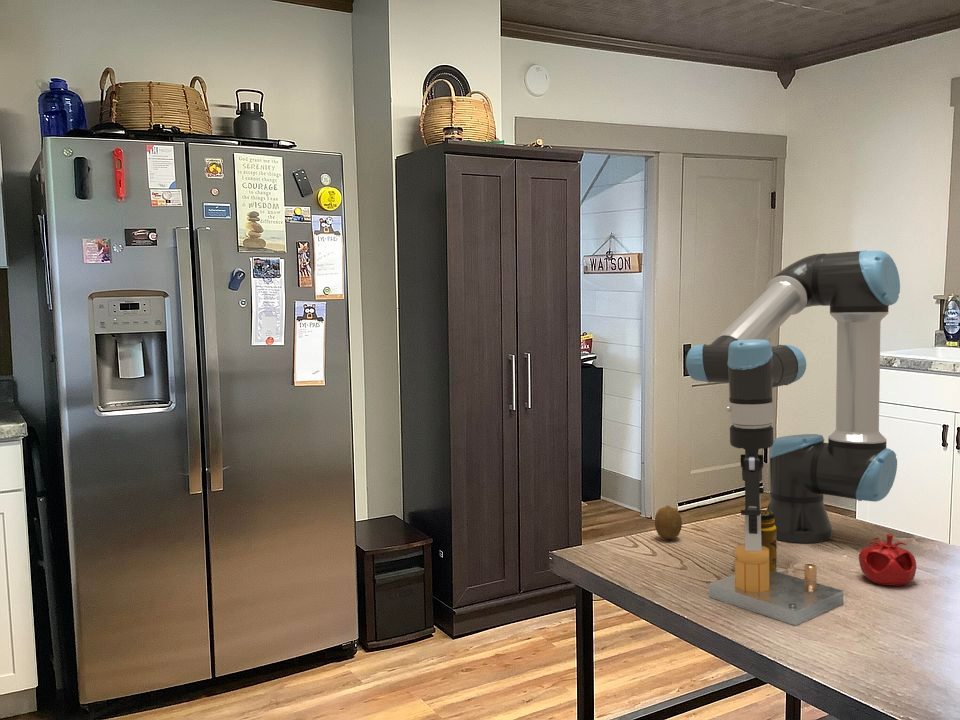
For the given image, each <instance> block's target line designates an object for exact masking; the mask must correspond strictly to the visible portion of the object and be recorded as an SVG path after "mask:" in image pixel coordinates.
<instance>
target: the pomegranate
mask: <svg viewBox="0 0 960 720" xmlns="http://www.w3.org/2000/svg"><path fill="white" fill-rule="evenodd" d="M893 537H894V534H892V533H887V534H886V542H884V541H883V540H882V539H881V538H880V537H876V538H874V539H872V540H873V541H870V542H867V545H868V546H866V547H864V548H863V549H862V550H860V552H859V554H858V563H859V566H860V570H861V572H862V574H863V575H864V576H865V577H866V578H867V579H868V580H869V581H871V582H872V583H874V584H877V585H880V586H895V587H899V586H901V587H902V586H905V585H907V584H910V582H912V581H913V580H914V578H915V576H916V571H917V562H916V558H915V556H914V554H913V553H912V552H910V550H908V549H905V548H902V547H899V545H903V546H904V545H908V543H906V542H902V541H898V542H896V543H893V542H892V541H893V540H894V538H893ZM877 540H878V541H879V542H877ZM870 544H871V545H870Z"/></svg>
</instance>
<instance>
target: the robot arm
mask: <svg viewBox="0 0 960 720" xmlns="http://www.w3.org/2000/svg"><path fill="white" fill-rule="evenodd" d="M764 290H765V291H764V292H763V293H762V294H761V295H760V296H758V298H757V299H756V300H755V301H754V302H753V303H751V304H750V306H748V307H747V308H746V309H745V310H744V312H742V313H741V314H740V315H739V316H738V317H737V318H736V319H735V320H734V321H732V323H731V324H730V325H729V326H727V327H726V329H725V330H724V331H722V332H721V334H719V336H717V338H715V339H714V341H712V343H709V344H706V343H703V344H696V345H693V346H692V347H691V348H690V349H689V350H688V352H687V354H686V359H685V367H686V369H687V374H688V375H689V378H691V379H692V380H694V381H696V382H705V383H708V384H711V383H718V384H719V383H720V384H728V390H729V391H728V392H729V393H728V394H729V397H728V399H729V406H726V407H725V412H727V413H729V422H730V423H731V424H732V425H730V427H729V444H730V446H732V447H733V448H736V449H743V450H744V454H740V468H741V478H742V480H743V481H744V505H745V506H744V509H740V515H741V516H744V540H745V541H744V544H745V550H749V551H762V549H761V510H762V509H761V508H762V507H761V506H762V505H761V494H764V492H765V491H764V487H762V486H761V481H762V480H763V468H764V455H763V454H759V453H760V451H759V450H760V449H764V450H765V449H769V455H768V459H769V502H768V505H767V508H766V510H768V511H771V512H773V513H774V520H775V523H774V525H775V526H776V531H777V533H776V534H777V535H776V541H777V540H779V541H783V542H789V543H800V544H801V543H802V544H804V543H805V544H810V543H811V544H812V543H821V542H825V541H828V540H830V539H831V538H832V537H833V529H832V524H831V521H830V518H829V515H828V512H827V509H826V507H825V504H824V502H825V501H824V495H826V496H833V497H838V498H846V499H853V500H857V501H858V502H863V501H866V502H875V503H876V502H880V501H882V500H883V499H885V498H886V497H887V496H888V494H889V493H890V491H891V489H892V488H893V486H894V482H895V479H896V477H897V476H896V475H897V471H898V470H897V469H898V458H897V453H896V452H895V451H894V450H893V449H891V448H888V447H887V438H886V437H885V436H884V435H883V434H882V433H881V432H880V390H881V389H880V386H881V384H880V378H881V377H880V376H881V374H880V373H881V370H880V369H881V324H882V323H881V322H882V320H883V319H885V318H886V316H887V315H888V314H889V306H892V305H894V304H896V303H897V302H898V301H899V298H900V292H901V281H900V275H899V270H898V267H897V264H896V262H895V261H894V259H893V257H892V256H891V255H890V254H889V253H887V252H886V251H883V250H866V249H865V250H859V251H847V252H846V251H845V252H844V251H843V252H832V253H817V254H816V253H815V254H812V255H808V256H805V257H803V258H801V259H798V260H796V261H794V262H792V263H791V264H789V265H788V266H786V267H785V268H783V269H782V270H780V271H779V272H778V273H777V274H776V275H774V276H773V277H772V278H771V279H770V280H769V281H768V282H767V283H766V286H765V289H764ZM816 306H821V307H823V306H825V307H826V306H828V307H829V315H831V317H832V318H833V319H834V320H835V321H836V385H835V387H836V388H835V392H836V393H835V394H836V395H835V396H836V398H835V399H836V400H835V401H836V403H835V430H834V431H833V432H832V433H831V434H829V436H827V437H828V438H827V439H828V442H825V438H824V436H823V435H822V434H816V433H805V434H804V433H803V434H792V435H791V434H790V435H787V436H779V437H776V438H774V427H773V426H772V425H771V424H772V423H774V401H773V388H777V387H783V386H789V385H791V384H792V383H795V382H797V381H799V380H801V378H802V377H803V376H804V375H805V372H806V370H807V361H806V360H807V359H806V357H805V354H804V353H803V351H802V350H801V349H800V348H798V347H797V346H794V345H790V344H778V345H775V346H774V345H773V346H772V344H771V342H770V340H768V339H769V338H770V337H771V336H773V335H774V334H775V332H777V330H778V329H780V327H781V326H782V325H783V324H784V323H785V322H786V321H787V320H788V319H789V318H790V317H791V316H792V315H797V314H800V313H801V312H802V311H803V310H804V309H805V308H806V309H807V308H808V307H816Z"/></svg>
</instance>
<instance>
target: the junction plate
mask: <svg viewBox="0 0 960 720" xmlns="http://www.w3.org/2000/svg"><path fill="white" fill-rule="evenodd" d="M769 588H770V589H769V590H766V591H762V592H751V591H744V590H741V589H739V588H736V587H735V574H732V575H729V576H727V577H726V576H725V577H724V578H721V579H717V580H716V581H712V582H710V583H708V597H709V598H711V599H714V600H717V601H720V602H723V603H726V604H729V605H732V606H734V607H735V606H736V607H739V608H741V609H744V610H746V611H750V612H753V613H756V614H759V615H762V616H766V617H768V618H771V619H774V620H776V621H780V622H783V623H785V624H789V625H792V626H798V625H800V624H802V623H805V622H807V621H809V620H812V619H813V618H816V617H818V616H820V615H822V614H824V613H827V612H829V611H831V610H833V609H835V608H838V607H840V606H842V605H844V590H843V589H839V588H835V587H833V586H829V585H826V584H822V583H817V565H816V564H814V563H813V564H812V563H805V564H804V578H800V577H796V576H793V575H789V574H785V573H782V572H775V571H772V570H769Z"/></svg>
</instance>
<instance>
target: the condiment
mask: <svg viewBox="0 0 960 720" xmlns="http://www.w3.org/2000/svg"><path fill="white" fill-rule="evenodd" d="M774 523H775V520H774V513H773V512H771V511H768V510H767V509H761V546H765V547H767V548H768V549H769V570H772V571H775V572H779V573H782V572H785V571H786V569H784V568H782V567H777V564H778V563H777V558H778V557H777V548H778V546H777V539H776V535H777V534H776V533H777V531H776V526H775V525H774ZM729 569H730V570H732V571H734V572H735V566H733V567H730V568H729Z"/></svg>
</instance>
